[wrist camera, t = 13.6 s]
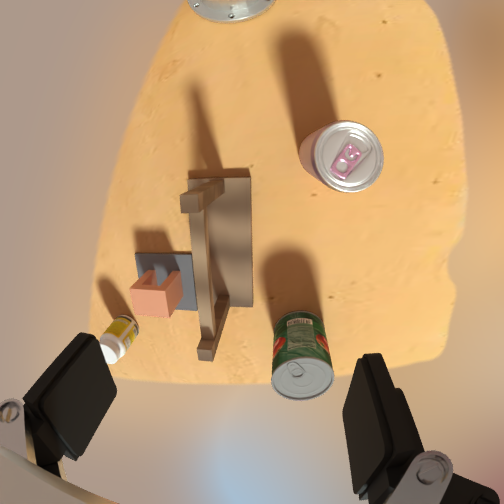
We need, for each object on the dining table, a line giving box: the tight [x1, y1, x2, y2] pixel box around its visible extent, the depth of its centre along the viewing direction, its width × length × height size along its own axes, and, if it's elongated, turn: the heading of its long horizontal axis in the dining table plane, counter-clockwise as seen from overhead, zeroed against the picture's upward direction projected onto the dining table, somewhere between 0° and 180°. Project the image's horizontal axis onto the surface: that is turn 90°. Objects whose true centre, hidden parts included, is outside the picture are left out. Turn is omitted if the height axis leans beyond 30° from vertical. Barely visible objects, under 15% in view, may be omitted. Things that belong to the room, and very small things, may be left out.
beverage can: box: [299, 120, 384, 193], centre depth 27 cm, size 6×6×15 cm
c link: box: [130, 270, 183, 318], centre depth 39 cm, size 4×5×6 cm
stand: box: [180, 177, 253, 361], centre depth 33 cm, size 18×8×14 cm, turn 1°
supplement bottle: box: [99, 315, 139, 364], centre depth 42 cm, size 5×5×8 cm
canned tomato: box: [271, 311, 334, 401], centre depth 38 cm, size 8×8×11 cm
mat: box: [135, 253, 198, 311], centre depth 42 cm, size 9×9×1 cm
